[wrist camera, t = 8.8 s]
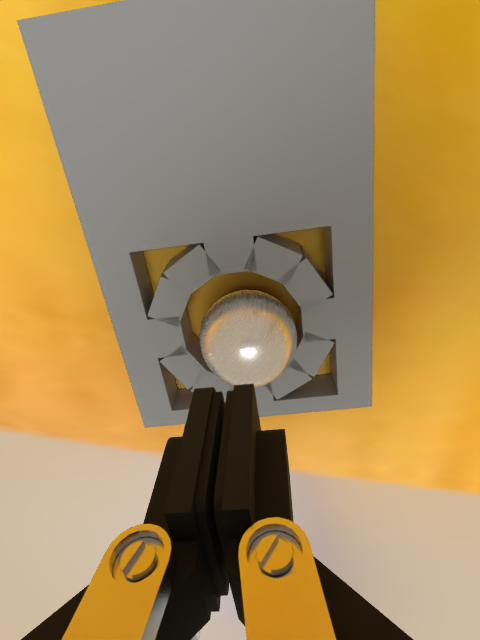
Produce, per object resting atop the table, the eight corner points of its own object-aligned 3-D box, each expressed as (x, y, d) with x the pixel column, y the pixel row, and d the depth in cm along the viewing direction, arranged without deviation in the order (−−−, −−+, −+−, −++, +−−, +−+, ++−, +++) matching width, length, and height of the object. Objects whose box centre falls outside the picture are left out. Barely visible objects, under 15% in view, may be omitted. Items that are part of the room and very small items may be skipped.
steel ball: (246, 374, 29) (180, 327, 27) (302, 312, 28) (236, 259, 26) (260, 424, 23) (178, 371, 21) (331, 351, 22) (251, 287, 20)
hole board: (360, -27, 19) (375, -47, 17) (362, 384, 29) (371, 406, 27) (42, 31, 20) (16, 20, 18) (152, 405, 31) (144, 427, 29)
